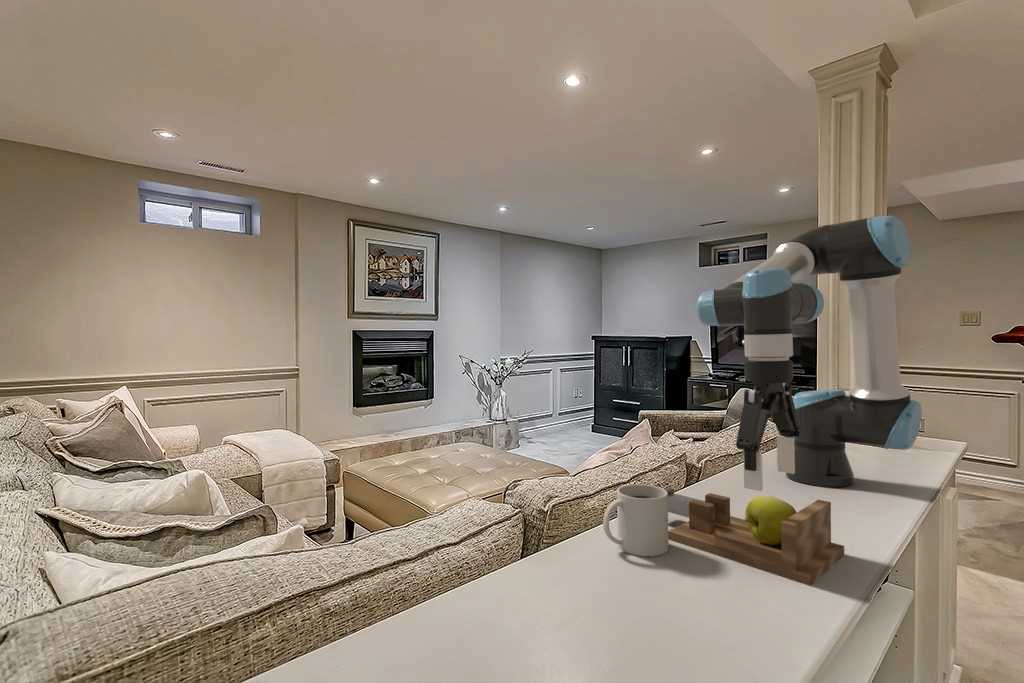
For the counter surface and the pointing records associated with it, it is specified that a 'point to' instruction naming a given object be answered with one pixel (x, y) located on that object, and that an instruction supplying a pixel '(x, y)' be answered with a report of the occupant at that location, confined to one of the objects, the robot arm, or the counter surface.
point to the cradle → (731, 538)
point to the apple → (767, 518)
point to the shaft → (679, 503)
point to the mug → (640, 520)
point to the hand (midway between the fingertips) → (770, 480)
